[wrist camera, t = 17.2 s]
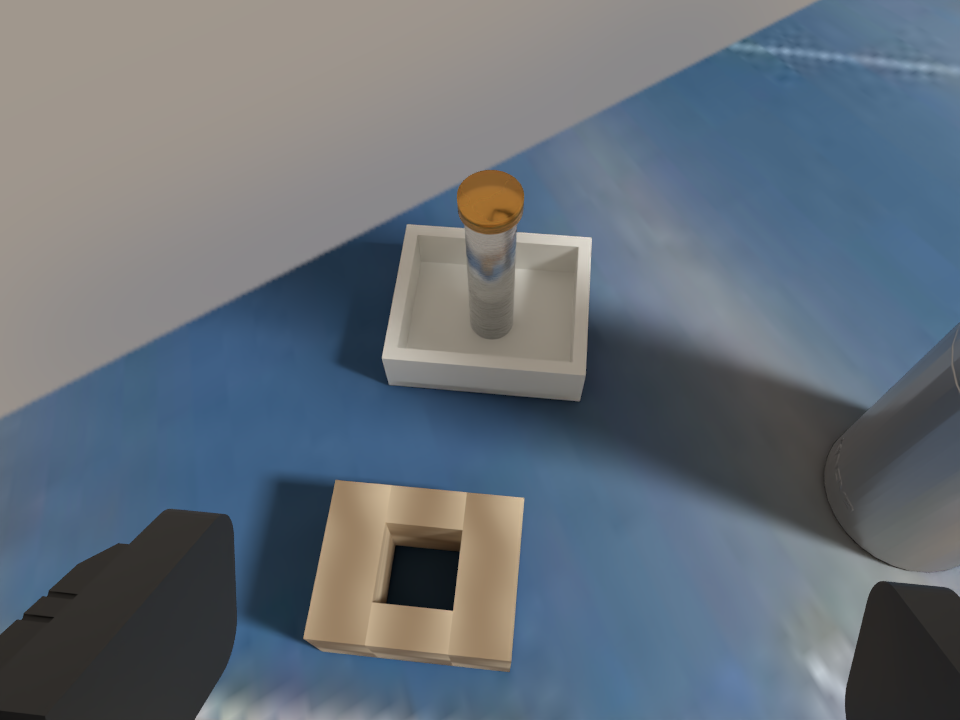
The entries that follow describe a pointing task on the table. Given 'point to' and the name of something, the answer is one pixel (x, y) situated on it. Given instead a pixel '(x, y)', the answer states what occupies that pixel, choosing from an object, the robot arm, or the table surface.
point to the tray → (475, 360)
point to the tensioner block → (368, 563)
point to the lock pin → (491, 248)
